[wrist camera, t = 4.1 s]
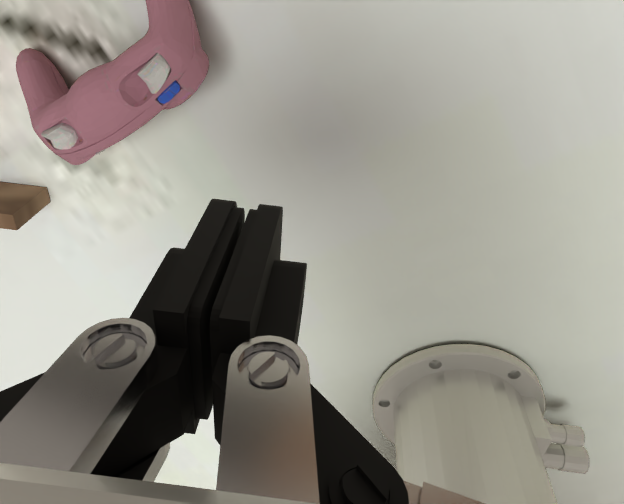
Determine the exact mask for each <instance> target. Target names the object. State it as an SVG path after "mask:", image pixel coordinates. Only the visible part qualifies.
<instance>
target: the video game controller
mask: <svg viewBox="0 0 624 504" xmlns="http://www.w3.org/2000/svg"><path fill="white" fill-rule="evenodd" d="M146 4H147V10H148V17H149V30H148V32H147V34H146V35H145V36H144V37H143V38H142V39H141V40H139V41H138V42H137V43H135V44H134V45H132V46H131V47H130V48H128V49H127V50H126V51H125V52H123V53H122V54H121V55H120V56H118V57H117V58H116V59H115V60H113V61H111V62H109V63H106V64H103V65H100V66H98V67H96V68H93V69H91V70H89V71H87V72H86V73H84V74H83V75H81V76H80V77H79V78H78V79H77V80H76V81H75V82H74V84H73V85H72V86H71V88H70V90H69V89H68V87H67V85H66V83H65V81H64V79H63V77H62V76H61V75H60V73H59V72H58V70H57V69H56V67H55V66H54V64H53V63H52V62H51V61H50V60H49V59H48V58H47V57H46V56H45V55H44V54H43V53H41V52H39V51H37V50H34V49H31V48H28V49H24V50H23V51H21V52H20V53H19V55H18V57H17V62H16V71H17V75H18V78H19V82H20V85H21V88H22V91H23V94H24V97H25V100H26V103H27V106H28V110H29V114H30V118H31V122H32V126H33V128H34V131H35V132H36V134H37V135H38V136H39V137H40V139H41V140H42V141H43V142H44V143H45V145H46V146H47V147H48V148H49V149H51V150H52V151H53V152H54V153H55V154H57V155H58V156H60V157H61V158H63V159H64V160H66V161H67V162H69V163H71V164H73V165H79V164H82V163H84V162H86V161H88V160H89V159H90V158H92V157H93V156H94V155H95V154H100V153H101V152H103V151H104V150H105V149H106V148H108V147H110V146H112V145H113V144H115V143H117V142H119V141H121V140H122V139H124V138H126V137H127V136H128V135H130V134H131V133H133V132H134V131H136V130H137V129H139V128H140V127H142V126H143V125H144V124H146V123H147V122H148V121H149V120H151V119H152V118H153V117H154V116H156V115H157V114H158V113H159V112H160V111H161V110H162V109H170V108H174V107H176V106H178V105H181V104H182V103H183V102H185V101H186V100H187V99H189V98H190V97H191V96H192V95H193V94H194V93H195V92H196V91H197V89H198V88H199V86H200V85H201V83H202V82H203V81H204V79H205V77H206V74H207V72H208V68H209V59H208V56H207V54H206V53H205V52H204V51H203V49H202V48H201V42H200V37H199V33H198V29H197V25H196V21H195V18H194V14H193V11H192V8H191V5H190V2H189V0H146Z"/></svg>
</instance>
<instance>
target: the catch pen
mask: <svg viewBox="0 0 624 504" xmlns="http://www.w3.org/2000/svg"><path fill="white" fill-rule="evenodd" d="M48 203H50V198H49V194H48V190H47V187H39V186H31V185H22V184H14V183H6V182H0V228H4V229H12V230H18V229H19V228H20V227H21V226H23V225H24V224H25V223H26V222H27V221H28V220H30V219H31V218H32V217H33V216H34V215H35V214H37V213H38V212H39V211H40V210H41V209H43V208H44V207H45V206H46V205H47V204H48Z"/></svg>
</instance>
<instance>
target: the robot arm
mask: <svg viewBox="0 0 624 504" xmlns="http://www.w3.org/2000/svg"><path fill="white" fill-rule="evenodd" d="M282 216H283V208H282V207H279V206H271V205H262V204H259V206H258V209H257V210H253V209H250V210H249V213H248V215H247V218H246V221H245V223H244V220H245V214H244V208H237V204H236V202H235V201H227V200H219V199H212V200H211V201H210V203H209V205H208V207H207V209H206V211H205V212H204V214H203V216H202V218H201V220H200V222H199V224H198V226H197V227H196V229H195V231H194V233H193V235H192V237H191V239H190V241H189V242H188V244H187V246H186V248H185V249H180V248H171V249H170V250H169V251H168V253H167V254H166V256H165V258H164V260H163V261H162V263H161V265H160V266H159V268H158V270H157V272H156V273H155V275H154V277H153V278H152V280H151V282H150V284H149V285H148V287H147V289H146V290H145V292H144V294H143V296H142V297H141V299H140V301H139V303H138V304H137V306H136V308H135V309H134V311H133V313H132V315H131V316H130V318H117V319H110V320H106V321H103V322H100V323H97V324H95V325H93V326H92V327H90V328H88V329H86V330H85V331H84V332H83V333H82V334H81V335H79V336H78V337H77V338H76V340H75V341H74V342H73V343H72V344H71V345H70V346H69V347H68V348H67V349H66V350H65V352H64V353H63V354H62V355H61V356H60V357H59V358H58V359H57V360H56V361H55V363H54V364H53V365H52V366H51V367H50V368H49V369H48V370H47V371H46V372H45V373H43V374H40V375H38V376H36V377H33V378H31V379H29V380H26V381H24V382H22V383H19V384H17V385H15V386H12V387H10V388H8V389H5V390H3V391H1V392H0V504H557V501H556V498H555V495H554V492H553V489H552V486H551V483H550V480H549V477H548V474H547V471H546V468H553V469H557V470H560V471H568V472H575V473H583V474H585V473H586V472H587V471H588V469H589V455H588V452H587V450H586V449H585V447H583V445H584V442H585V435H584V431H583V429H582V428H581V427H578V426H570V425H563V424H561V425H556V424H550V422H549V421H548V420H547V419H544V418H543V415H544V412H545V396H544V393H543V389H542V387H541V384H540V382H539V380H538V378H537V376H536V374H535V373H534V372H533V371H532V370H531V368H530V367H529V366H528V365H527V364H525V363H524V362H523V361H521V360H520V359H518V358H517V357H515V356H513V355H511V354H509V353H507V352H505V351H502V350H499V349H495V348H492V347H488V346H482V345H474V344H449V345H442V346H435V347H431V348H428V349H425V350H421V351H418V352H416V353H413V354H411V355H409V356H407V357H405V358H403V359H401V360H400V361H399V362H397V363H396V364H394V365H393V366H391V367H390V368H389V369H388V370H387V371H386V372H385V373H384V374H383V375H382V377H381V379H380V380H379V382H378V383H377V385H376V388H375V391H374V394H373V414H374V420H375V422H376V424H377V427H378V429H379V430H380V431H381V433H382V434H383V435H384V436H385V437H386V438H387V439H388V440H389V441H390V442H391V443H393V444H394V445H395V449H396V465H397V471H396V470H395V468H394V467H393V466H392V465H391V464H390V463H389V462H388V461H387V460H386V459H385V458H384V457H383V456H382V455H381V454H380V453H379V452H378V451H377V450H376V449H375V448H374V447H373V446H372V445H371V444H370V443H369V442H368V441H367V440H366V439H365V438H364V437H363V436H362V435H361V434H360V433H359V432H358V431H357V430H356V429H355V428H354V427H353V426H352V425H351V424H350V423H349V422H348V421H347V420H346V419H345V418H344V417H343V416H342V415H341V414H340V413H339V412H338V411H337V410H336V409H335V408H334V407H333V406H332V405H331V404H330V403H329V402H328V401H327V400H326V399H325V398H324V397H323V396H322V395H321V394H320V393H319V392H318V391H317V390H316V389H315V388H314V387H313V386H312V385H311V384H310V376H309V364H308V360H307V357H306V355H305V353H304V352H303V350H302V349H301V348H300V347H299V346H298V345H297V342H298V336H299V329H300V322H301V315H302V307H303V298H304V289H305V279H306V269H307V263H299V262H291V261H282V260H280V251H281V233H282ZM212 406H213V408H214V427H215V439H216V440H217V442H218V443H219V444H220V456H219V466H218V476H217V487H216V490H210V489H202V488H195V487H187V486H179V485H172V484H164V483H156V482H154V480H155V478H156V476H157V474H158V473H159V471H160V469H161V467H162V465H163V463H164V461H165V459H166V458H167V455H168V452H169V449H170V442H171V441H173V440H175V439H177V438H178V437H180V436H182V435H183V434H184V433H191V434H195V432H196V429H197V426H198V423H199V420H200V419H208V418H209V415H210V412H211V409H212ZM551 442H553V443H551ZM554 443H556V444H554Z"/></svg>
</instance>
